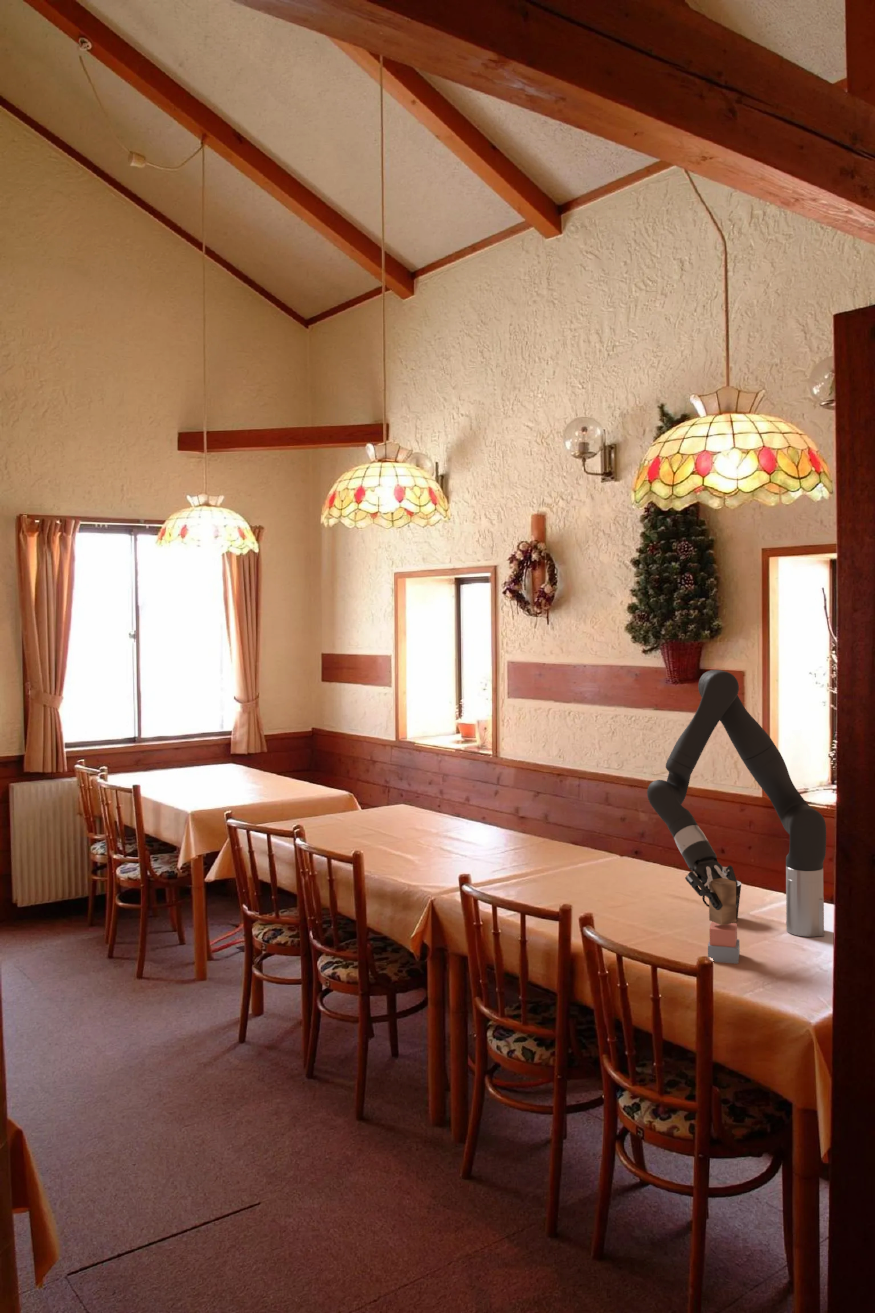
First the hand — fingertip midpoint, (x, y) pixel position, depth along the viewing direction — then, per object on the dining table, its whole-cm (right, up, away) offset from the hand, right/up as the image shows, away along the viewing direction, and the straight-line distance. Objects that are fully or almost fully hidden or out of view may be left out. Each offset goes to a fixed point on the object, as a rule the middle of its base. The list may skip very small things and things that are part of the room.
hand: (728, 906), depth 246 cm
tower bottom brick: (0, -13, +2) cm, 13 cm away
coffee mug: (+7, -12, +33) cm, 36 cm away
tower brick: (-1, -9, +2) cm, 9 cm away
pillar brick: (-1, -4, +2) cm, 5 cm away
